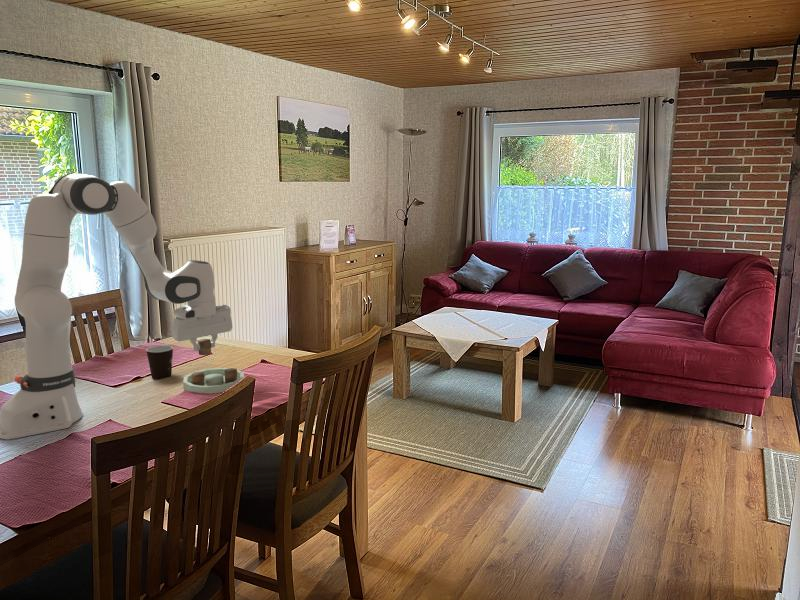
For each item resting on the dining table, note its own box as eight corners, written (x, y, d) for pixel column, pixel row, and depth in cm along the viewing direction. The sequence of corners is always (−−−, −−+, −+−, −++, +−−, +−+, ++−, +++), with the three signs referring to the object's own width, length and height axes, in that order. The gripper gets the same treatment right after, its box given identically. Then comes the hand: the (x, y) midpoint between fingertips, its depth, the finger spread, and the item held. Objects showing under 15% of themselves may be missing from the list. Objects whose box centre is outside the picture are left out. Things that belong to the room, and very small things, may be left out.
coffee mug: (166, 381, 212) (164, 353, 210) (143, 379, 214) (140, 351, 212) (184, 370, 224) (182, 343, 222) (162, 369, 225) (160, 342, 223)
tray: (202, 400, 195) (201, 391, 194) (172, 385, 209) (172, 376, 208) (256, 385, 209) (255, 376, 208) (225, 372, 222) (225, 363, 222)
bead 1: (195, 389, 202) (195, 376, 201) (189, 386, 204) (189, 373, 204) (207, 386, 205) (206, 373, 204) (201, 383, 207) (200, 370, 206)
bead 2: (196, 353, 211) (195, 340, 210) (207, 351, 213) (206, 338, 212) (202, 355, 208) (201, 342, 207) (213, 353, 211) (212, 340, 210)
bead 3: (229, 385, 206) (228, 372, 205) (222, 382, 208) (222, 370, 208) (239, 383, 209) (239, 370, 208) (233, 380, 211) (232, 367, 210)
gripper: (225, 302, 217) (227, 340, 220) (168, 311, 203) (171, 353, 205) (234, 305, 213) (236, 344, 215) (177, 315, 198) (180, 357, 201)
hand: (204, 348), depth 210 cm, fingers closed on bead 2, 4 cm apart
